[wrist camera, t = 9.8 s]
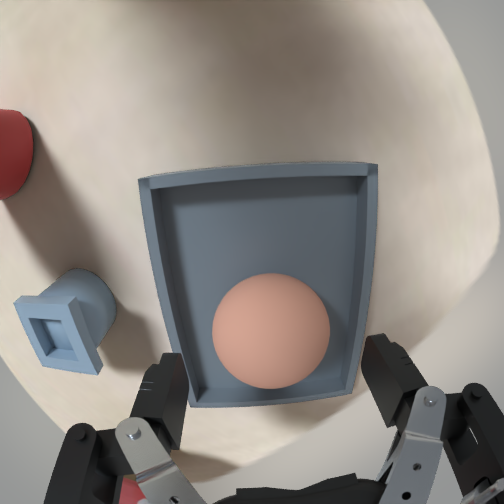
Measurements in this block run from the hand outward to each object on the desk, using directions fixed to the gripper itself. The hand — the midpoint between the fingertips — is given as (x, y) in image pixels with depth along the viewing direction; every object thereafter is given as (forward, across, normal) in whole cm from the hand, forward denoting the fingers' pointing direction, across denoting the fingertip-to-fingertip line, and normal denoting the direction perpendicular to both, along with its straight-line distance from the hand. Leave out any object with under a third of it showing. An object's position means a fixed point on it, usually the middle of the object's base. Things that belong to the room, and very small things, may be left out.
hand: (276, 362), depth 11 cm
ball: (+6, 0, 0) cm, 6 cm away
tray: (+7, 0, 0) cm, 7 cm away
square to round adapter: (+7, +13, 0) cm, 15 cm away
